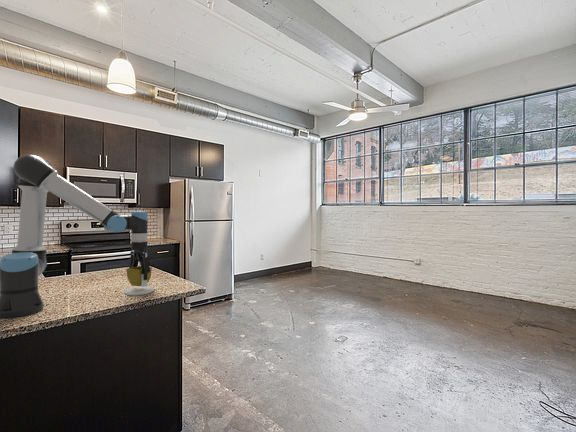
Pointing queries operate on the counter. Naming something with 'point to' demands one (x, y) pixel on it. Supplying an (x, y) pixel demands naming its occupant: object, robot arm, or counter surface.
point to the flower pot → (136, 275)
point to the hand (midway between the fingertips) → (139, 284)
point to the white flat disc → (138, 290)
